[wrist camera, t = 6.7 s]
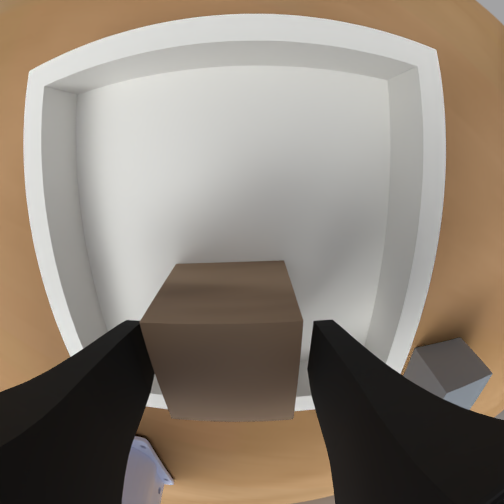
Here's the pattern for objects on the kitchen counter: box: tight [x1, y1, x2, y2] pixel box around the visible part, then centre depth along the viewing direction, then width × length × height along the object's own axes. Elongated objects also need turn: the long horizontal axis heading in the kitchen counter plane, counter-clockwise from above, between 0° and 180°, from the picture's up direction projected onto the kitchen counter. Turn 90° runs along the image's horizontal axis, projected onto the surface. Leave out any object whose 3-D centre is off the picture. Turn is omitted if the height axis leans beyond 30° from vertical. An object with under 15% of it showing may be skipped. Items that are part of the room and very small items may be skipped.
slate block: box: [404, 337, 492, 410], centre depth 12 cm, size 4×4×4 cm
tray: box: [24, 14, 446, 411], centre depth 9 cm, size 14×14×3 cm
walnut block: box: [139, 260, 303, 422], centre depth 9 cm, size 4×4×4 cm
